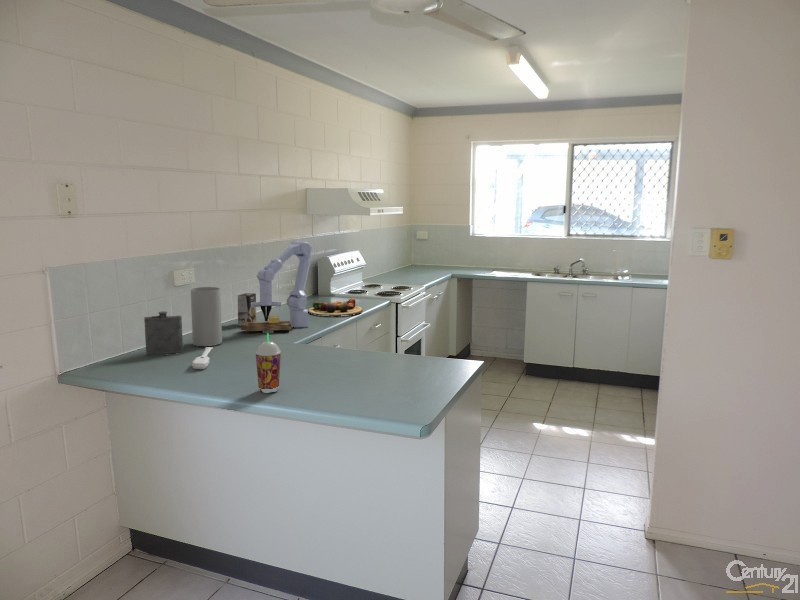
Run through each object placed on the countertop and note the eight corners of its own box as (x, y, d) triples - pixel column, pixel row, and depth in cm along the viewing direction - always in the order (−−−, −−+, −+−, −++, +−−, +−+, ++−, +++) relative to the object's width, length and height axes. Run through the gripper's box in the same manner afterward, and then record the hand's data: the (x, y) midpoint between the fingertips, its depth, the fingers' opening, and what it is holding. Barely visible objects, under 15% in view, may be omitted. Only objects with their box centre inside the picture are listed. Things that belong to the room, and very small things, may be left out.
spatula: (202, 353, 248) (202, 346, 247) (216, 353, 249) (216, 346, 248) (190, 370, 220) (190, 363, 220) (206, 370, 221) (206, 363, 221)
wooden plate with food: (348, 306, 368) (347, 293, 367) (372, 314, 341) (372, 300, 340) (300, 311, 352) (299, 297, 351) (321, 320, 325) (320, 305, 324)
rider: (279, 324, 294) (278, 315, 293) (279, 326, 289) (279, 317, 288) (268, 325, 293) (268, 316, 292) (269, 327, 288) (268, 317, 287)
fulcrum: (272, 329, 295) (272, 326, 295) (273, 333, 287) (273, 330, 287) (262, 329, 294) (262, 327, 294) (262, 333, 286) (262, 330, 285)
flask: (182, 354, 245) (181, 311, 242) (145, 356, 241) (143, 313, 238) (183, 351, 249) (181, 310, 246) (146, 353, 244) (144, 311, 241)
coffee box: (249, 326, 301) (248, 295, 299) (237, 326, 302) (236, 295, 300) (257, 323, 310) (256, 293, 307) (245, 322, 311) (245, 292, 309)
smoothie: (258, 387, 203) (257, 330, 200) (282, 387, 204) (281, 330, 200) (254, 395, 195) (253, 336, 191) (279, 394, 195) (279, 336, 192)
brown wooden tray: (289, 326, 297) (289, 320, 296) (290, 329, 289) (290, 323, 289) (240, 327, 291) (240, 322, 290) (240, 331, 283) (240, 325, 283)
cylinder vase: (225, 345, 261) (223, 290, 257) (196, 348, 254) (194, 291, 250) (218, 339, 271) (216, 286, 267) (190, 342, 265) (187, 287, 261)
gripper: (250, 295, 282) (251, 323, 284) (281, 294, 285) (281, 322, 287) (250, 293, 288) (251, 320, 291) (280, 292, 292) (281, 319, 294)
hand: (266, 321), depth 289 cm, fingers closed
